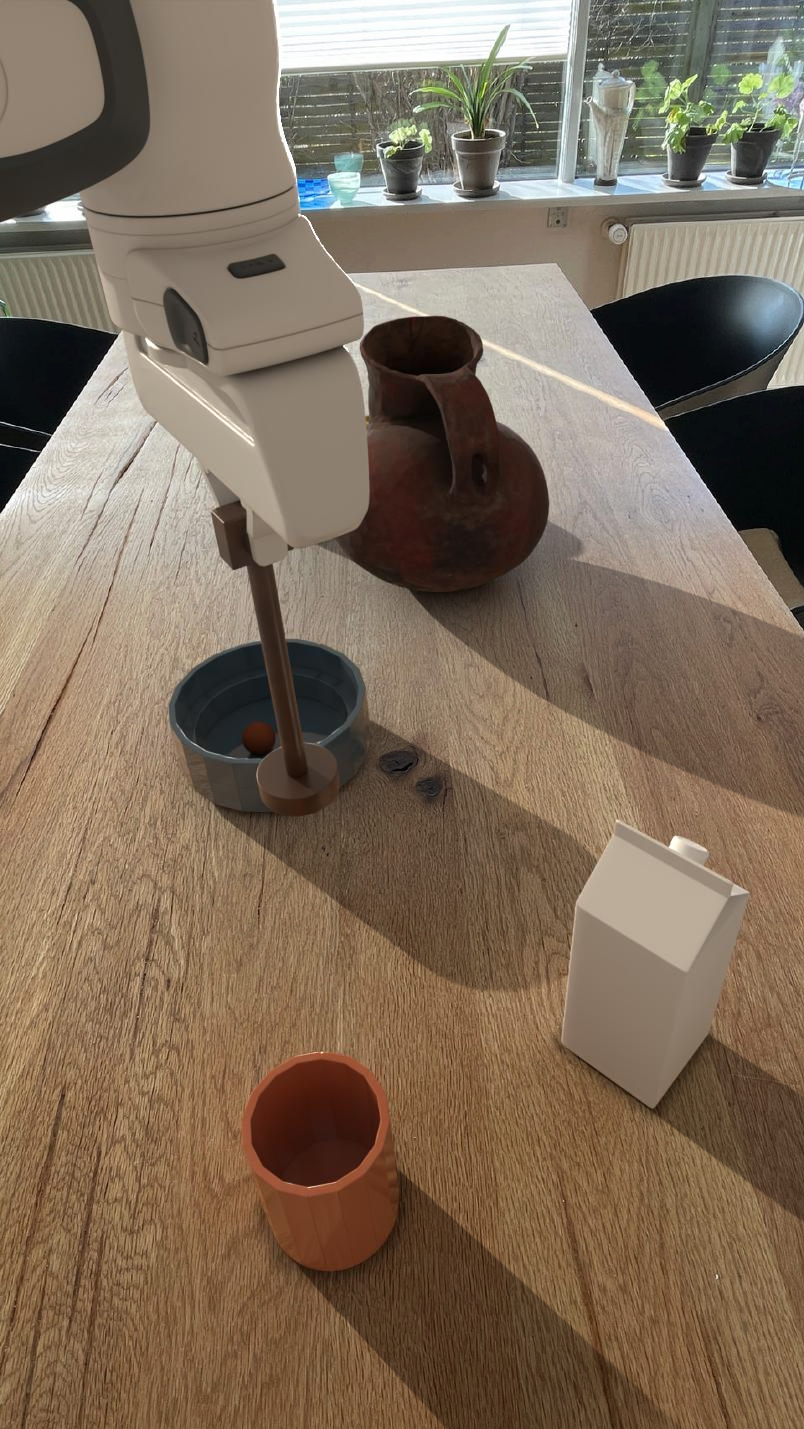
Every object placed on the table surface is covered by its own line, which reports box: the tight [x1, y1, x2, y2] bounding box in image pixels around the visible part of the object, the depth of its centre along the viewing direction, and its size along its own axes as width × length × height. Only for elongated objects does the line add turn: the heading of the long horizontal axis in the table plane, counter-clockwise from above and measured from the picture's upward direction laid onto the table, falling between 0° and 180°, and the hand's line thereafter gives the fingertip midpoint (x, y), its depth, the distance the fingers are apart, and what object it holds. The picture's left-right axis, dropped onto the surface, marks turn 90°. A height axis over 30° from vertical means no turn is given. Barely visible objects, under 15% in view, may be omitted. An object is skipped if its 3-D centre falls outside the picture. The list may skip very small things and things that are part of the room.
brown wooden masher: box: [209, 500, 341, 817], centre depth 55 cm, size 5×5×20 cm
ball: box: [242, 722, 276, 755], centre depth 86 cm, size 3×3×3 cm
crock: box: [241, 1050, 400, 1272], centre depth 53 cm, size 8×8×10 cm
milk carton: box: [560, 819, 751, 1109], centre depth 58 cm, size 7×7×19 cm
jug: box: [333, 315, 550, 593], centre depth 103 cm, size 25×25×25 cm
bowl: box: [167, 638, 371, 813], centre depth 85 cm, size 17×17×6 cm
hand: (255, 545), depth 50 cm, fingers closed on brown wooden masher
